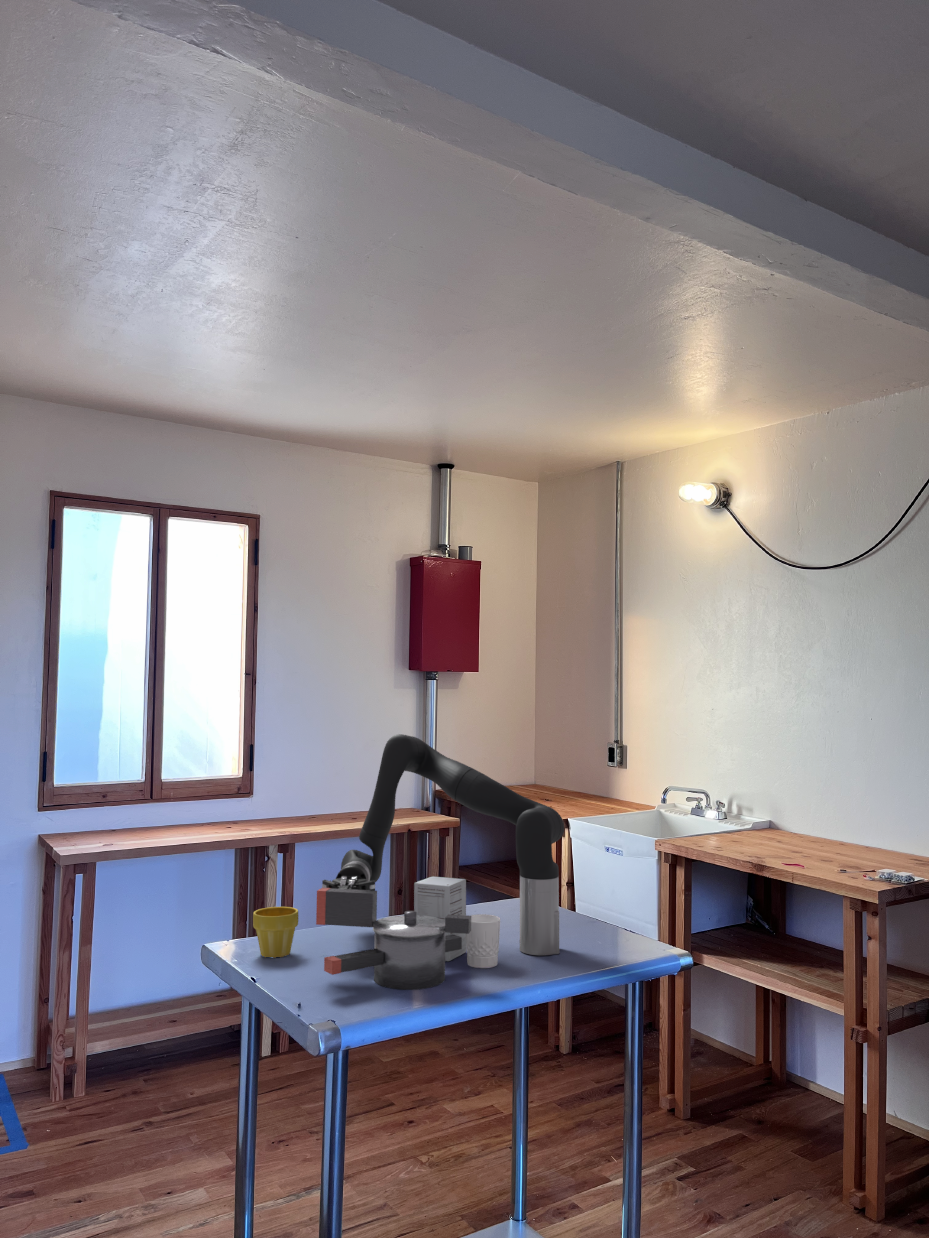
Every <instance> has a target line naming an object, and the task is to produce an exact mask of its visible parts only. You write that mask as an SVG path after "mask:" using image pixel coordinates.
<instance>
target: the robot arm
mask: <svg viewBox="0 0 929 1238" xmlns="http://www.w3.org/2000/svg"><path fill="white" fill-rule="evenodd" d="M381 756H382V757H381V762H380V766H379V771H378V774H377V779H376V784H375V788H374V792H373V796H372V799H371V803H370V806H369V808H368V811H367V814H366V816H365V820H364V822H363V824H362V827H361V829H360V831H359V836H358V839H359V841H360V842H361V843H362V844H363V845H365V846H366V847H368V848H369V849H370V850H371V852H372V855H370V854H368V853H365V852H364V851H363V852H362V851H361V850H358V849H350V850H348V851H346V853H345V854H344V856H343V858H342V861H341V864H340V870H339V872H338V873H337V874H336V877H335V878H334V879H332V880H329V879H323V880H322V883H321V886H322V887H321V888H333V889H353V890H374V891H376V882H378V881H379V879H380V877H381V874H382V869H383V868H382V867H383V856H384V849H385V845H386V842H387V838H388V836H389V834H390V831H391V828H392V825H393V822H394V820H395V819H394V818H395V815H396V813H395V812H396V798H397V797H396V796H397V791H398V786H399V783H400V780H401V778H402V776H403V774H404V772H408V773H409V772H410V773H414V774H416V775H419V776H421V777H423V778H425V779H428V780H429V781H431V782H433V783H434V784H436V785H437V786H438V787H439V788H440V789H441V790H442V791H443V792H444V793H445V794H446V795H447V796H448V797H449V798H450V799H452V800H454V801H455V802H457V803H459V804H460V805H462V806H464V807H465V808H468V809H470V810H472V811H474V812H476V813H480V814H482V815H485V816H489V817H494V818H496V819H501V820H502V821H503V820H504V821H506V822H509V823H511V824H513V825H515V849H516V850H515V852H516V853H515V854H516V856H515V857H516V863H517V866H518V869H519V943H518V944H519V951H520V952H522V953H523V954H527V955H530V956H531V955H533V956H551V955H559V954H560V910H559V909H560V908H559V905H560V903H559V902H560V901H559V900H560V899H559V897H560V895H559V894H560V893H559V890H560V889H559V888H560V886H559V885H560V884H559V883H560V882H559V880H560V879H559V877H560V874H559V871H560V870H559V865H558V864H557V862H555V861H554V858H553V848H552V847H553V844H555V843H556V842H558V841H559V840H560V839H561V838H562V837H563V835H564V833H565V823H564V820H563V818H562V816H561V815H560V814H559V812H557V810H555V809H554V808H552V807H550V806H548V805H546V804H542V803H541V802H537V801H536V800H533V799H530V798H529V797H525V796H523V795H521V794H519V793H517V792H516V791H514V790H512V789H511V788H509V787H507V786H506V785H504V784H503V783H500V782H499V781H497V780H495V779H493V778H491V777H489V776H488V775H486V774H484V773H482V772H481V771H478V770H477V769H475V768H473V767H471V766H469V765H466V764H464V763H462V762H460V761H457V760H455V759H452V758H450V757H447V756H446V755H444V754H442V753H441V752H439V751H437V750H436V749H435V748H433V747H431V745H429V744H427V743H426V742H425V741H423V740H422V739H420V738H419V737H416V736H411V735H408V734H399V733H398V734H394V735H393V736H391V737H390V738H389V739H388V740H387V741H386V744H385V746H384V747H383V752H382V755H381Z"/></svg>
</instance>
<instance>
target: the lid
mask: <svg viewBox="0 0 929 1238" xmlns="http://www.w3.org/2000/svg"><path fill="white" fill-rule="evenodd" d="M377 906H378V890H375V891H374V890H353V889H333V888H322V887H321V888H319V889H318V890H316V914H315V915H316V918H315V920H316V921H315V925H318V926H319V925H320V926H340V927H341V926H343V927H358V928H360V927H361V928H372V931H373V933H374V934H375V933H377V934H380V935H383V936H388V937H395V938H423V937H431V936H436V935H439V934H442V933H444V932H446V933H464V934H469V933H470V931H471V916H470V915H467V914H466V915H449V914H448V915H447V916H446V917H445V920H443V919H440V918H436V917H431V916H421V915H417V912H416V911H414V910H406V911H404V915H393V916H386V917H383V918H379V919H378V918H377V916H378V915H377V913H378V912H377V911H378V907H377Z"/></svg>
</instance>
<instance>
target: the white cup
mask: <svg viewBox="0 0 929 1238" xmlns="http://www.w3.org/2000/svg"><path fill="white" fill-rule="evenodd" d="M469 916H471V931H470V933H469V934H466V961H467V962H466V963H467V966H469V967H471V968H477V969H490V968H494V967H496V966H498V959H499V957H498V956H499V952H500V951H499V949H500V935H501V934H500V930H501V929H500V928H501V918H500V916H497V915H493V914H481V913H479V914H471V915H469Z"/></svg>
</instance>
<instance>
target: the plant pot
mask: <svg viewBox="0 0 929 1238" xmlns="http://www.w3.org/2000/svg"><path fill="white" fill-rule="evenodd" d="M298 925H299V910H298V908H295V907H291V906H271V907H270V906H269V907H265V908H259V909H257V910H254V911H253V915H252V926H253V929H255V931H256V936H257V941H258V946H259V951H260V953H259V954H260V956H261V955H262V956H261V957H263V956H264V957H263V958H266V957H273V958H272V959H277V958H276V957H280V958H284V956H285V957H287V955H288V956H289V955H290V954H291V951H292V947H293V941H294V936H295V932H296V927H298Z"/></svg>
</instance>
